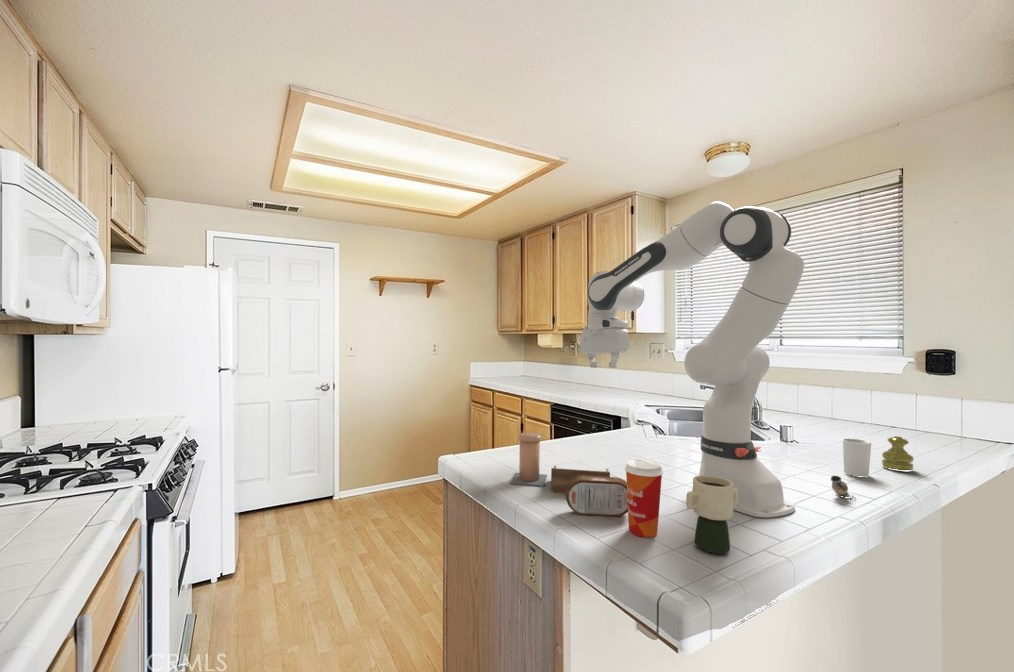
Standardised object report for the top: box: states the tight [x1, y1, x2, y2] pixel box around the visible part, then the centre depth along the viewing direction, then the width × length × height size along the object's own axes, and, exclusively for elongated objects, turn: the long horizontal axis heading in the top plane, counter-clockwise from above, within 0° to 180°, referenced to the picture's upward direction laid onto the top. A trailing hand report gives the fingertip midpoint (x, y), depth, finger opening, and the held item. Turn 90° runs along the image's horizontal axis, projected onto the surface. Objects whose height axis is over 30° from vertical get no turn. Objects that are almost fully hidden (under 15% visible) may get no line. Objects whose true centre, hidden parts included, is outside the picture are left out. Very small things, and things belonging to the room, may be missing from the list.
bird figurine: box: [830, 475, 856, 499], centre depth 114 cm, size 5×5×6 cm
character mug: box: [685, 475, 738, 554], centre depth 86 cm, size 11×7×13 cm, turn 102°
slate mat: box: [509, 472, 548, 488], centre depth 125 cm, size 9×9×1 cm
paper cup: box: [624, 459, 664, 539], centre depth 93 cm, size 8×8×14 cm
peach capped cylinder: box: [517, 432, 542, 482], centre depth 125 cm, size 6×6×12 cm
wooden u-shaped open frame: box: [550, 465, 611, 494], centre depth 119 cm, size 10×15×6 cm
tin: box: [564, 475, 628, 518], centre depth 102 cm, size 15×3×8 cm, turn 84°
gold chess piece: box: [881, 435, 915, 471], centre depth 139 cm, size 7×7×10 cm
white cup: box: [842, 437, 872, 476], centre depth 134 cm, size 7×7×10 cm
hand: (602, 368), depth 142 cm, fingers open, 8 cm apart
